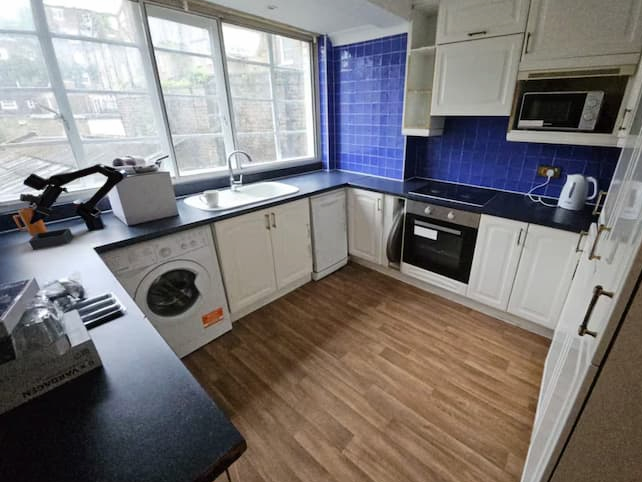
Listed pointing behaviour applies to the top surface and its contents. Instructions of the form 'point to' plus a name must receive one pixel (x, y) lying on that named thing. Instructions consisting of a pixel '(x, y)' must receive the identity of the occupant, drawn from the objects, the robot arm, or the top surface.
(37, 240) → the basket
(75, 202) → the plastic cup
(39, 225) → the tall orange mug
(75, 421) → the top surface
